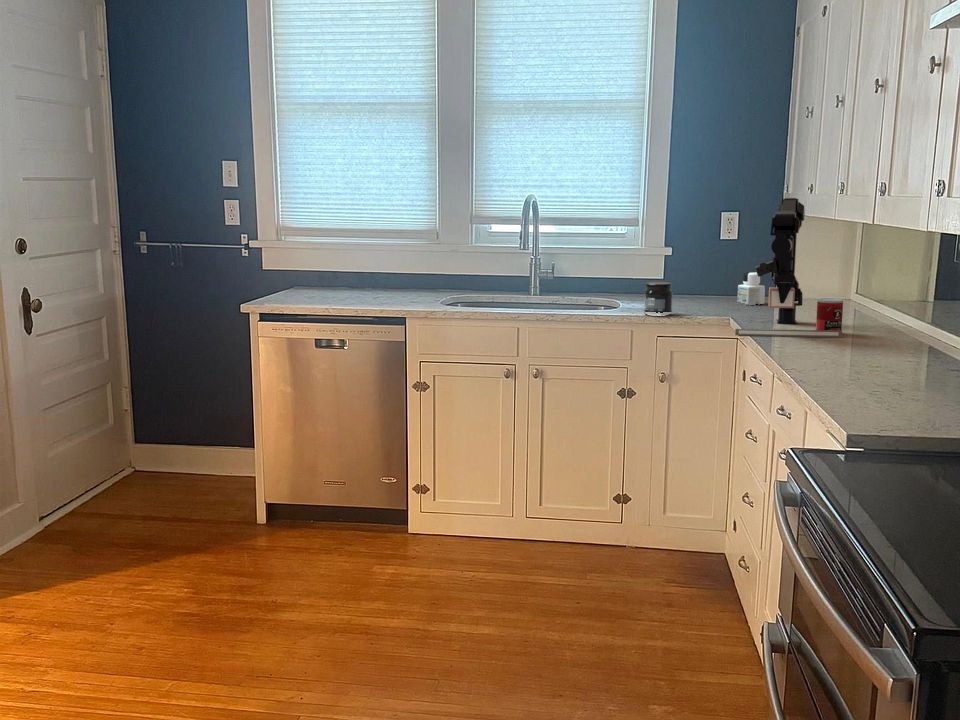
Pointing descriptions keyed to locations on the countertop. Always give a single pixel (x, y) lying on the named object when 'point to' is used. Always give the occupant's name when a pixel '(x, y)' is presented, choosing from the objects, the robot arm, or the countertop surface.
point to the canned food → (829, 314)
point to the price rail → (788, 333)
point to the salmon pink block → (775, 300)
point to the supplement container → (658, 297)
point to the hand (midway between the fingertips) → (781, 302)
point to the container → (751, 289)
